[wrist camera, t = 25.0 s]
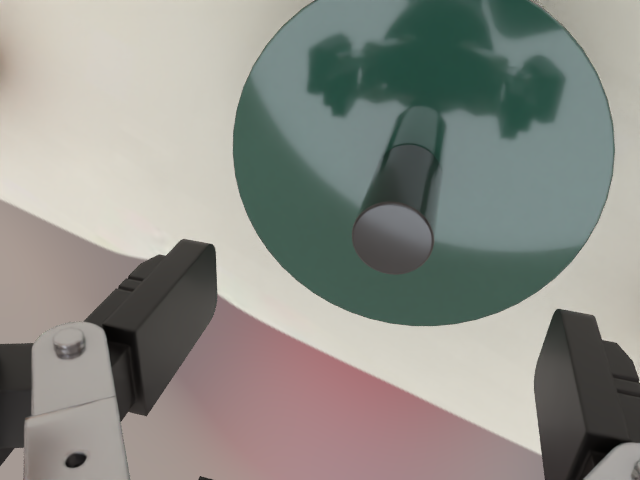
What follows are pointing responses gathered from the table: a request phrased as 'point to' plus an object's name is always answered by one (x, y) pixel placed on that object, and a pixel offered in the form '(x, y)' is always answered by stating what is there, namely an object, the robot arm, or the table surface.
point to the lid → (423, 154)
